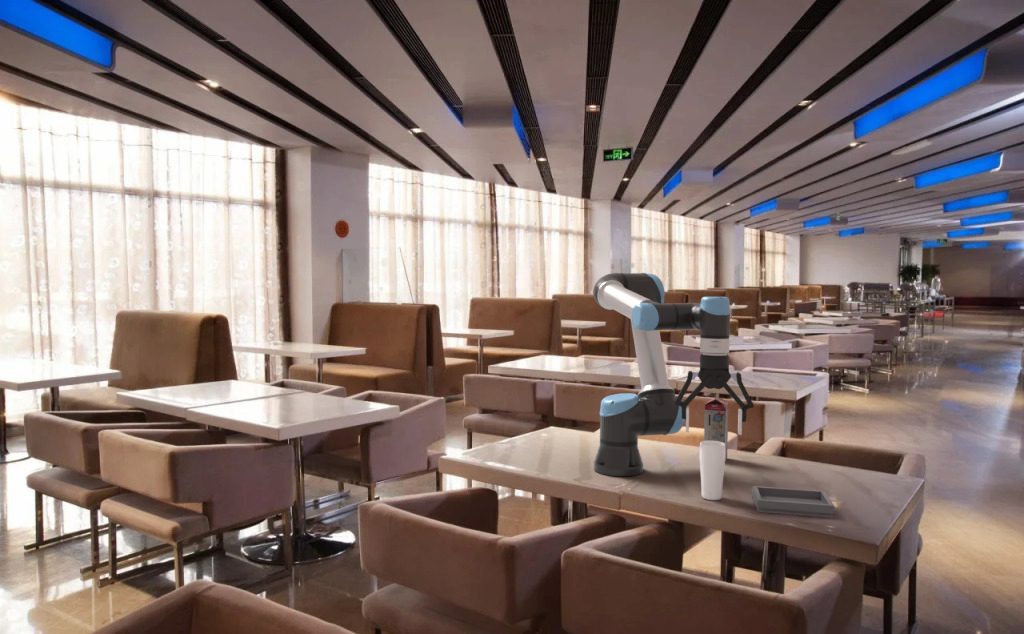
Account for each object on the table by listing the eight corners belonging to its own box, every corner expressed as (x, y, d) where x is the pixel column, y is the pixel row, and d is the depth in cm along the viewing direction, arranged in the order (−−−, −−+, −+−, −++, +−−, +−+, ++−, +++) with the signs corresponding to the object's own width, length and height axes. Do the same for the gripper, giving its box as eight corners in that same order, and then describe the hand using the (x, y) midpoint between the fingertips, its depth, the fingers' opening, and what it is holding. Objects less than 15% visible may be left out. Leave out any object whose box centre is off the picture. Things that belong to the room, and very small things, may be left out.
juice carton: (727, 458, 233) (728, 392, 232) (724, 462, 227) (726, 395, 226) (706, 456, 236) (708, 391, 235) (703, 460, 230) (705, 394, 229)
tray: (757, 511, 178) (758, 500, 178) (752, 496, 191) (753, 485, 191) (834, 517, 174) (834, 505, 174) (823, 502, 187) (824, 490, 187)
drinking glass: (695, 494, 193) (696, 440, 192) (718, 494, 193) (720, 440, 193) (703, 502, 186) (704, 446, 185) (728, 501, 187) (729, 445, 186)
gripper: (666, 354, 187) (665, 432, 188) (765, 356, 181) (763, 437, 182) (667, 351, 194) (666, 427, 195) (762, 353, 189) (760, 432, 189)
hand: (713, 432), depth 189 cm, fingers open, 13 cm apart
